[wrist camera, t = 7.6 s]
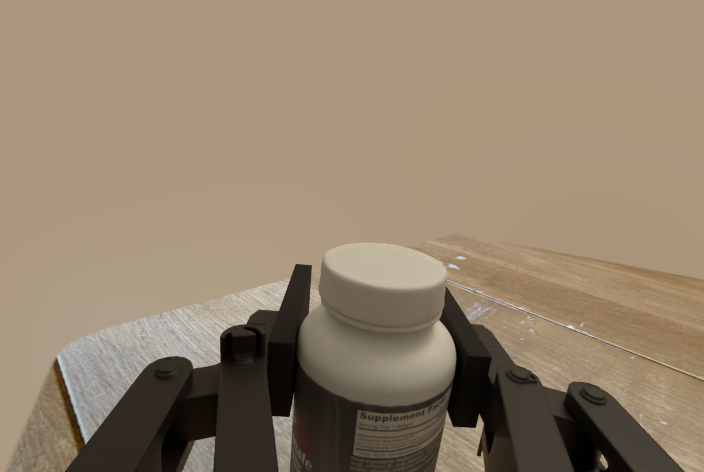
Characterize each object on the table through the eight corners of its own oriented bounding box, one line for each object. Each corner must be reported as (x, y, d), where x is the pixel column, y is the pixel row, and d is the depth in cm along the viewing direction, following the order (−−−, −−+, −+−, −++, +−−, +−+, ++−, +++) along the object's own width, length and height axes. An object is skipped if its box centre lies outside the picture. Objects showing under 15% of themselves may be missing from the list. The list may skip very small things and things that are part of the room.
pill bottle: (276, 453, 16) (284, 237, 13) (386, 425, 18) (413, 233, 15) (310, 601, 11) (335, 309, 8) (455, 539, 13) (514, 289, 10)
